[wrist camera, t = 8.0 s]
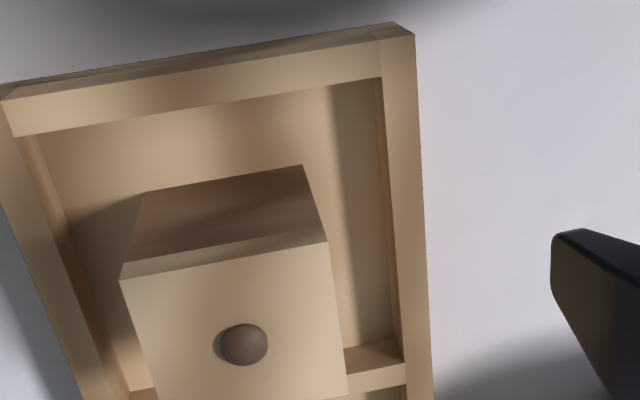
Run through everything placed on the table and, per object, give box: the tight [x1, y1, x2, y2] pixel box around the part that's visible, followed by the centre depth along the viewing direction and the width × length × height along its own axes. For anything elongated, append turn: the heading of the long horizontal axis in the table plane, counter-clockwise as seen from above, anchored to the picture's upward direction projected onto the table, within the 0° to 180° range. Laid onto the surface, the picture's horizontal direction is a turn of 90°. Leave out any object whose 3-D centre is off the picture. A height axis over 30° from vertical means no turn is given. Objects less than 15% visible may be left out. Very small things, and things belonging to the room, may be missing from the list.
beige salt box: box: [119, 164, 349, 400], centre depth 17 cm, size 5×5×5 cm
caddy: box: [0, 22, 434, 400], centre depth 22 cm, size 12×24×2 cm, turn 7°
